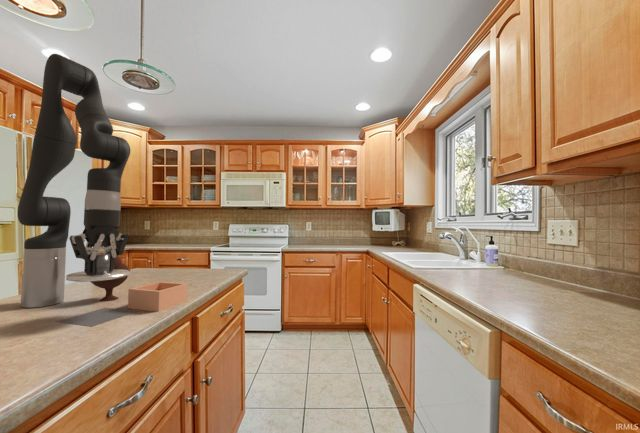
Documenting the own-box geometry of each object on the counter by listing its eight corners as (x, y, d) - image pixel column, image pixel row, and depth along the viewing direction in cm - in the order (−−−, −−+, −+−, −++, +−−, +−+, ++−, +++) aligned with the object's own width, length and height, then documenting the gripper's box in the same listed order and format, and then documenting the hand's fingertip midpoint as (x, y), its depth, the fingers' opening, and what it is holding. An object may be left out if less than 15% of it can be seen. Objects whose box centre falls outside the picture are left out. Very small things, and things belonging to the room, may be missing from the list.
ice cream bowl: (137, 297, 93) (138, 253, 93) (108, 306, 81) (110, 256, 82) (108, 296, 94) (110, 252, 94) (76, 305, 83) (78, 256, 83)
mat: (55, 323, 67) (55, 321, 67) (105, 309, 79) (105, 307, 79) (91, 329, 64) (92, 326, 64) (138, 313, 76) (138, 311, 76)
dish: (127, 309, 78) (128, 289, 79) (159, 300, 89) (159, 281, 89) (158, 313, 76) (159, 291, 76) (187, 302, 86) (187, 283, 86)
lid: (52, 278, 67) (54, 255, 67) (106, 270, 80) (107, 250, 80) (91, 283, 64) (92, 258, 64) (141, 274, 76) (142, 253, 76)
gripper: (118, 209, 80) (115, 268, 80) (61, 206, 66) (57, 276, 66) (138, 210, 78) (135, 270, 78) (83, 206, 64) (80, 279, 64)
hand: (99, 272), depth 72 cm, fingers closed on lid, 4 cm apart
